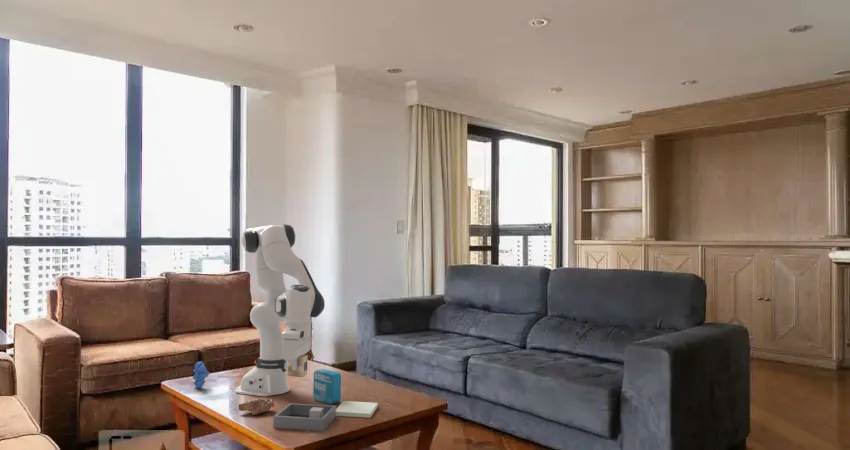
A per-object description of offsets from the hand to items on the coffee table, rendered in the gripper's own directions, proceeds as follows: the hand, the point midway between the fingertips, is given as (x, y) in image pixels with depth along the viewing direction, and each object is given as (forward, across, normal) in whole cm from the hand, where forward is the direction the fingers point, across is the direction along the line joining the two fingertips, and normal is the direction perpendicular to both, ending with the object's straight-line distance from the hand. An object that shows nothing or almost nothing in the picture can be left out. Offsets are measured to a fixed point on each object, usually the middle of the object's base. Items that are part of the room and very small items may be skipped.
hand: (297, 368), depth 212 cm
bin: (+19, 0, +4) cm, 20 cm away
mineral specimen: (+20, -7, -18) cm, 27 cm away
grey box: (+19, 0, +8) cm, 21 cm away
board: (+19, -16, +19) cm, 31 cm away
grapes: (+20, -35, -55) cm, 68 cm away
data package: (+20, -27, +4) cm, 33 cm away
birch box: (+3, 0, 0) cm, 3 cm away
